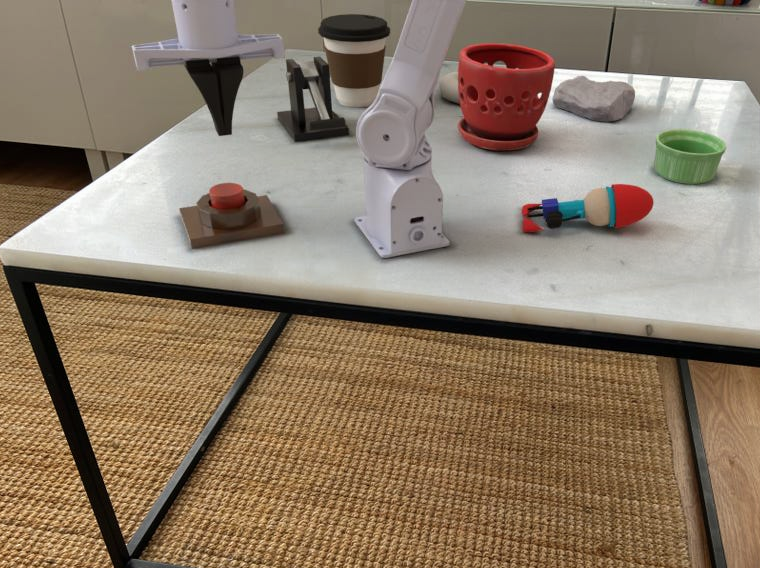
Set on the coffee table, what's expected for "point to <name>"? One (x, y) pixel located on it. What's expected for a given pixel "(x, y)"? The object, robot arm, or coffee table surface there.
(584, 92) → the stone block
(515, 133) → the flower pot
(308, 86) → the lever
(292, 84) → the bracket
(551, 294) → the coffee table surface
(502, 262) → the coffee table surface
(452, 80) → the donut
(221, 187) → the button
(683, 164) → the ramekin
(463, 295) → the coffee table surface
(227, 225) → the button block
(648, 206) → the toy figure
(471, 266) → the coffee table surface
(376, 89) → the coffee cup
